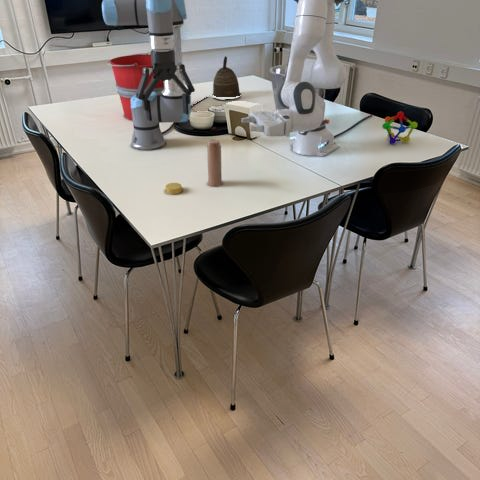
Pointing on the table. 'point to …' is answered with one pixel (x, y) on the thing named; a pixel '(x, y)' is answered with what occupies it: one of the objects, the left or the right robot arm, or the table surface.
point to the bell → (225, 82)
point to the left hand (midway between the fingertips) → (168, 116)
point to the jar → (214, 162)
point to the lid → (173, 188)
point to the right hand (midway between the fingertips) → (245, 124)
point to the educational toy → (398, 128)
